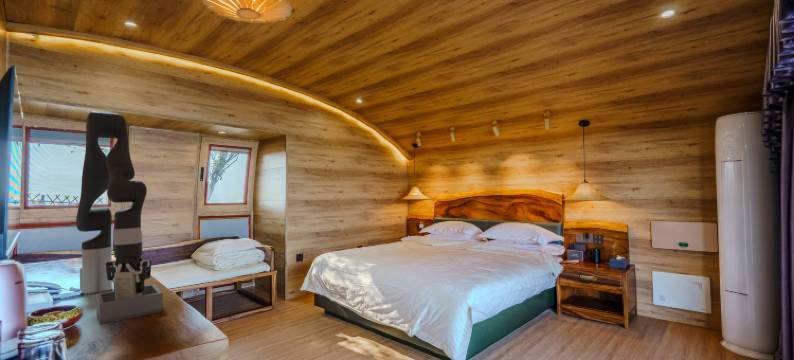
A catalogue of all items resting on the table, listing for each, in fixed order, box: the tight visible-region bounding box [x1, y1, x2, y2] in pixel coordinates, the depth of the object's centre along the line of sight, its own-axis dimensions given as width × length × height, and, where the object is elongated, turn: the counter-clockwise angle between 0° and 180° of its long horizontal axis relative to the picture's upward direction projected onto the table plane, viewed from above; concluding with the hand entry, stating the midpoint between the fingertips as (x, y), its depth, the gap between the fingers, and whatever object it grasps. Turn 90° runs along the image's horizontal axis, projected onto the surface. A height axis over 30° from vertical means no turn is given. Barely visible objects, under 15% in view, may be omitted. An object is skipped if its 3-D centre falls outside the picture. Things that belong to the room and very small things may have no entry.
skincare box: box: [114, 270, 142, 301], centre depth 122 cm, size 6×4×12 cm
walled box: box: [96, 283, 164, 326], centre depth 122 cm, size 16×16×6 cm
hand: (129, 292), depth 122 cm, fingers open, 6 cm apart
